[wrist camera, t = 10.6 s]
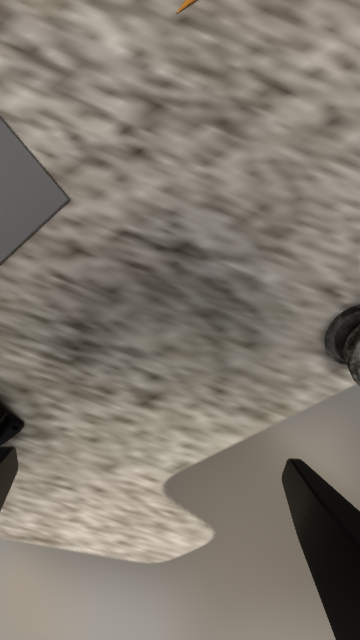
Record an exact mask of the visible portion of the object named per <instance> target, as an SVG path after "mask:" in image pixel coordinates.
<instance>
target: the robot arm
mask: <svg viewBox="0 0 360 640" xmlns="http://www.w3.org/2000/svg"><path fill="white" fill-rule="evenodd" d="M17 426H18V427H17ZM23 427H24V424H23V422H22V421H21V420H19V419H18V418H17V417H15V416H14V415H13V414H11V413H10V412H9V411H8V410H6V409H5V408H4V407H2V406H1V405H0V446H1V445H2V444H4V443H5V442H6V441H8V440H9V439H10V438H12V437H13V436H15V435H16V434H17V433H19V432H20V431H21V430H22V428H23ZM17 471H18V459H17V452H16V448H15V447H13V446H1V447H0V511H1V509H2V506H3V504H4V502H5V499H6V497H7V495H8V492H9V490H10V488H11V485H12V483H13V481H14V479H15V476H16V474H17ZM282 483H283V487H284V491H285V494H286V498H287V501H288V505H289V509H290V512H291V516H292V519H293V523H294V526H295V530H296V533H297V536H298V539H299V542H300V544H301V547H302V550H303V553H304V555H305V558H306V561H307V563H308V566H309V568H310V571H311V574H312V577H313V579H314V582H315V585H316V587H317V590H318V592H319V595H320V598H321V601H322V603H323V606H324V609H325V612H326V614H327V617H328V619H329V622H330V625H331V628H332V630H333V633H334V636H335V638H336V640H360V511H359V510H357V509H356V508H355V507H354V506H353V505H352V504H351V503H350V502H348V501H347V500H346V499H345V498H344V497H343V496H342V495H341V494H339V493H338V492H337V491H336V490H335V489H334V488H333V487H332V486H330V485H329V484H328V483H327V482H326V481H325V480H323V478H321V477H320V476H319V475H318V474H317V473H316V472H315V471H314V470H312V469H311V468H310V467H309V466H308V465H307V464H306V463H305V462H303V461H302V460H300V459H292V458H291V459H288V460H287V462H286V465H285V468H284V471H283V474H282Z"/></svg>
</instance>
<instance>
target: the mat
mask: <svg viewBox="0 0 360 640" xmlns="http://www.w3.org/2000/svg"><path fill="white" fill-rule="evenodd" d="M69 201H70V199H69V197H68V196H67V195H66V194H65V193H64V191H63V190H62V189H61V188H60V187H59V185H58V184H57V183H56V182H55V181H54V180H53V178H52V177H51V176H50V175H49V174H48V172H47V171H46V170H45V169H44V168H43V166H42V165H41V164H40V163H39V162H38V160H37V159H36V158H35V157H34V156H33V155H32V153H31V152H30V151H29V150H28V149H27V147H26V146H25V145H24V144H23V143H22V141H21V140H20V139H19V138H18V137H17V136H16V134H15V133H14V132H13V131H12V130H11V128H10V127H9V126H8V125H7V124H6V122H5V121H4V120H3V119H2V118H1V117H0V265H1V264H2V263H3V262H4V261H5V260H6V259H7V258H8V257H9V256H10V255H11V254H13V253H14V252H15V251H16V250H17V249H18V248H19V247H20V246H21V245H22V244H23V243H24V242H25V241H27V240H28V239H29V238H30V237H31V236H32V235H33V234H34V233H35V232H36V231H37V230H38V229H39V228H41V227H42V226H43V225H44V224H45V223H46V222H47V221H48V220H49V219H50V218H51V217H52V216H54V215H55V214H56V213H57V212H58V211H59V210H60V209H61V208H62V207H63V206H64V205H65V204H66V203H68V202H69Z"/></svg>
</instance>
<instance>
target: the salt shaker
mask: <svg viewBox="0 0 360 640" xmlns="http://www.w3.org/2000/svg"><path fill="white" fill-rule="evenodd" d="M325 347H326V350H327V352H328V355H329V356H330V357H331V358H332V359H333V360H335V361H337V362H339V363H341V364H346V365H347V366H348V368H349V371H350V373H351V375H352V377H353V380H354V381H355V382H356V383H357V384H358V385H359V386H360V305H359V306H355V307H352V308H350V309H348V310H346V311H344V312H342V313H341V314H340V315H339V316H338V317H337V318H335V320H334V321H333V322H332V324H331V325H330V326H329V329H328V331H327V333H326V338H325Z"/></svg>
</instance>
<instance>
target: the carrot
mask: <svg viewBox="0 0 360 640" xmlns="http://www.w3.org/2000/svg"><path fill="white" fill-rule="evenodd" d="M194 1H196V0H185V2H184V3H183V5H182V6H181V8H180V9H179V10H178V12H180V11H181V10H183V9H184V8H185V7H187V6H188V5H190V4H191V3H193V2H194ZM178 12H177V13H178ZM177 13H176V14H177Z"/></svg>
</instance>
